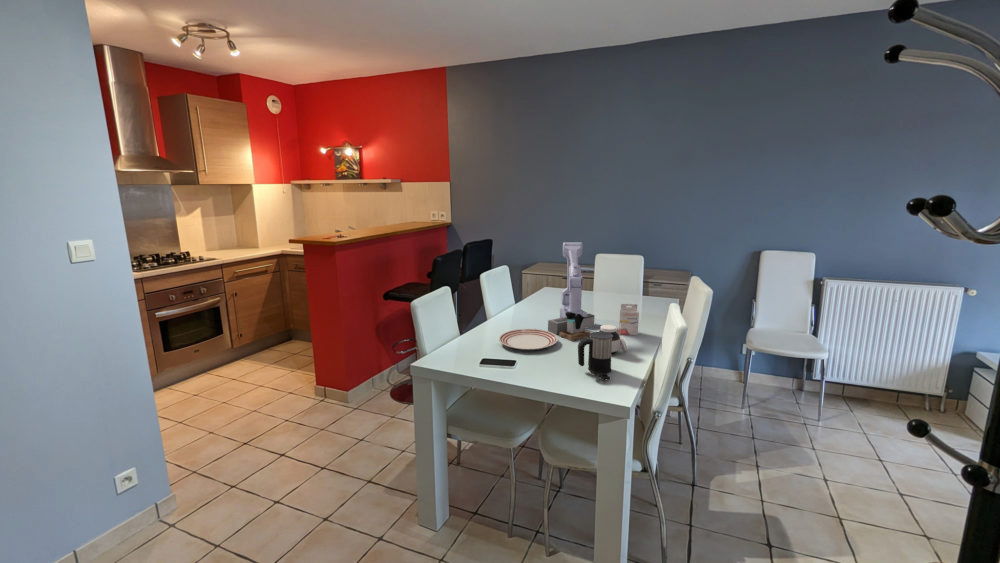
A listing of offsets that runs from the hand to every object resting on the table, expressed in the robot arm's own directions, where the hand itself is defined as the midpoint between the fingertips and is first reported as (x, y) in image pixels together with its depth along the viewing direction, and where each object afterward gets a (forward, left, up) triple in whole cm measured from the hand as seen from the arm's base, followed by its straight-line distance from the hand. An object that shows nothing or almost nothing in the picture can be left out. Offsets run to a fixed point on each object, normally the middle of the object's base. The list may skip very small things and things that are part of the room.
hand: (574, 327), depth 231 cm
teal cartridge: (0, 0, -2) cm, 2 cm away
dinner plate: (-4, -25, -5) cm, 26 cm away
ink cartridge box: (+12, +25, -5) cm, 28 cm away
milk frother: (+41, -23, -5) cm, 47 cm away
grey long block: (-10, +3, -4) cm, 11 cm away
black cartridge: (-9, +17, -4) cm, 19 cm away
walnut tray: (0, 0, -4) cm, 4 cm away
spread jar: (+26, -1, -5) cm, 26 cm away
